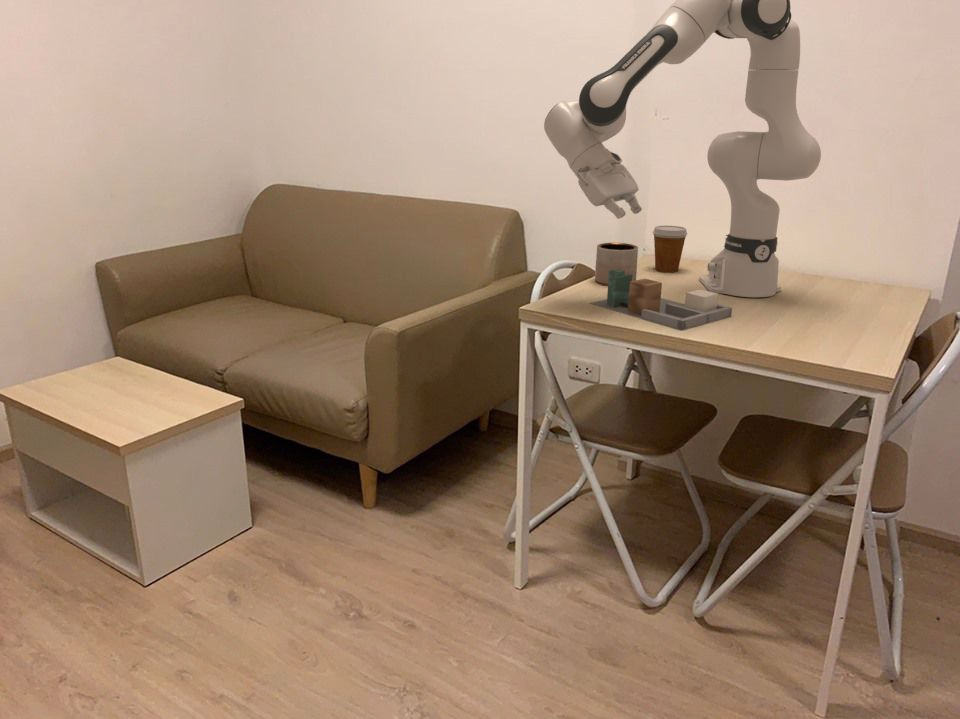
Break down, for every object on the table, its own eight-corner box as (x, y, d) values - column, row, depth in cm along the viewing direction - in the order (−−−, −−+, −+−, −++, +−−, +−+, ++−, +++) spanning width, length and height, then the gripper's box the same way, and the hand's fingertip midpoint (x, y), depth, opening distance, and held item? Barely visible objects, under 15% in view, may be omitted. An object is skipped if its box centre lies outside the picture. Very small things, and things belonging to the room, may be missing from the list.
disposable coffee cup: (687, 274, 214) (692, 231, 210) (653, 273, 214) (657, 230, 210) (678, 266, 223) (682, 225, 219) (646, 266, 223) (649, 225, 219)
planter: (598, 286, 199) (600, 250, 196) (591, 277, 210) (593, 242, 206) (639, 286, 200) (642, 250, 196) (631, 277, 210) (633, 242, 207)
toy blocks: (602, 304, 181) (604, 270, 178) (619, 300, 184) (621, 267, 181) (643, 316, 171) (646, 281, 168) (660, 312, 174) (663, 278, 172)
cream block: (683, 314, 173) (686, 292, 172) (697, 310, 176) (699, 289, 175) (702, 319, 170) (704, 297, 168) (716, 315, 172) (718, 293, 171)
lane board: (588, 305, 182) (589, 295, 181) (638, 294, 192) (639, 284, 191) (681, 332, 162) (682, 321, 161) (731, 318, 172) (732, 307, 171)
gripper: (583, 159, 163) (622, 210, 162) (621, 154, 180) (657, 200, 178) (563, 179, 167) (601, 229, 165) (602, 172, 183) (637, 218, 182)
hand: (630, 214), depth 172 cm, fingers open, 8 cm apart
